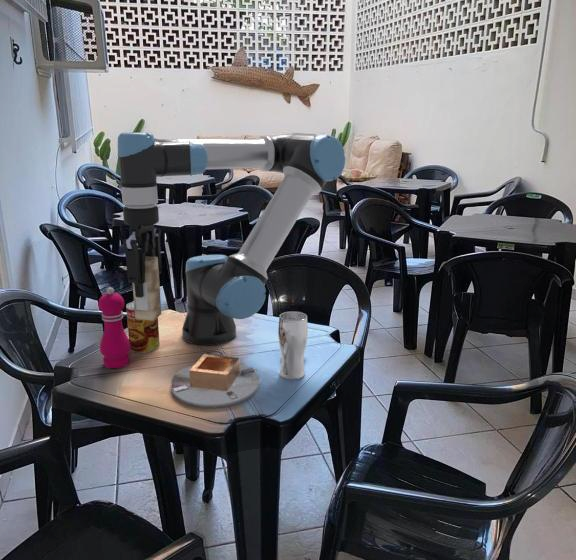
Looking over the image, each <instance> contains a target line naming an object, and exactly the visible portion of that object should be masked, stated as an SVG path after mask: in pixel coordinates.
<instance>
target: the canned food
mask: <svg viewBox="0 0 576 560" xmlns="http://www.w3.org/2000/svg"><path fill="white" fill-rule="evenodd" d="M125 305H126V307H125V309H126V319H127V332H128V333H127V334H128V339H129V341H130V351H131V352H132V353H133V352H134V353H137V354H138V353H139V354H142V353H143V354H145V353H151V352H154V351H156V350H157V349H159V348H160V345H161V344H160V332H159V331H160V330H159V329H160V327H159V317H157V318H156V319H155V320H153V321H150V320H139V319H135V308H134V301H132V302H129V303H126V304H125Z"/></svg>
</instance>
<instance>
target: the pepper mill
mask: <svg viewBox="0 0 576 560" xmlns="http://www.w3.org/2000/svg"><path fill="white" fill-rule="evenodd" d="M124 307H125V299H124V297H123V296H122V295H121V294H119V293H115V289H114V288H113V287H111V286H110V287H107V289H106V293H105V294H103V295H101V297H100V298H99V299H98V309H99V310H100V312H102V313H101V320H102V321H103V324H104V325H103V326H104V331H103V334H102V337H101V340H100V344H99V351H100V353H101V355H102V356H104V357H102V362H103V366H104V367H105V368H106V367H108V368H107V369H110V368H117V369H122V368H124V366H125V367H126V365H127V366H128V365H129V364H130V354H129V352H130V351H131V350H130V341H129V336H127V334H126V332H125V330H124V329H125V328H124V327H123V321H122V319H124V315H123V314H124V312H123V310H124ZM121 367H122V368H121Z"/></svg>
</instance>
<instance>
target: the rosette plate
mask: <svg viewBox="0 0 576 560" xmlns="http://www.w3.org/2000/svg"><path fill="white" fill-rule="evenodd" d="M170 384H171V385H170V387H171V394H172V395H173V397H174V398H175V399H176V400H177V401H179V402H180V403H182V404H185V405H187V406H190V407H194V408H198V409H199V408H201V409H222V408H228V407H232V406H236V405H239V404H241V403H244V402H246V401H247V400H249V399H251V398H253V396H254V395H255V394H256V393H257V392H258V390H259V388H260V387H259V386H260V377H259V374H258V373H257V371H256V369H254V368H253V367H250V366H249V365H246V364H244V363H240V357H234V356H226V355H225V356H224V355H217V354H216V355H215V354H207V353H203V354H202V356H201V357H200V358H199V359H198V360H197V361H196V362H195V364H194V363H193V364H191V365H189V366H186V367H183V368H182V369H181V370H179V371H177V372H176V374H174V375H173V377H172V378H171V382H170Z"/></svg>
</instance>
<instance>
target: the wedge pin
mask: <svg viewBox="0 0 576 560" xmlns="http://www.w3.org/2000/svg"><path fill="white" fill-rule="evenodd" d="M159 271H160V270H159V269H158V257H147V256H145V282H147V290H148V304H149V310H148V311H146V310H136V298H135V285H134V283H132V292H133V293H132V294H133V302H134V308H135V319H139V320H150V321H153V320H155V319H156V318H157V317H158V318H159V317H160V316H161V315H162V303H161V288H160V287H161V286H160V285H161V284H160V275H159Z"/></svg>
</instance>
